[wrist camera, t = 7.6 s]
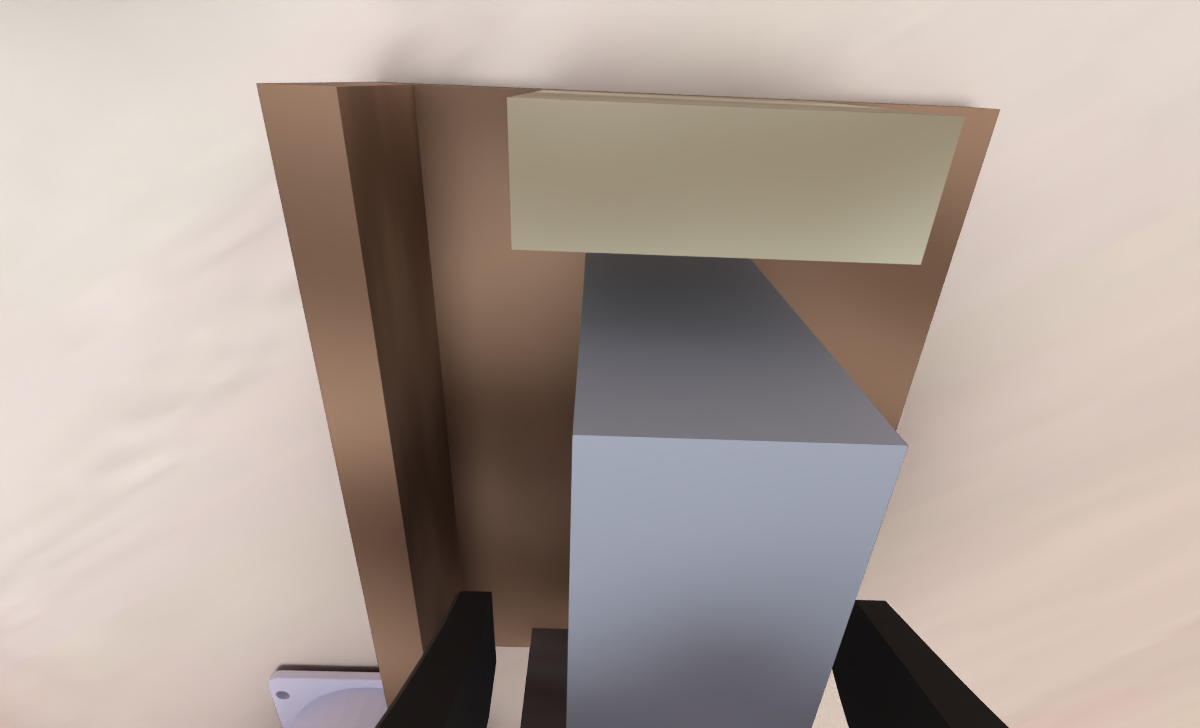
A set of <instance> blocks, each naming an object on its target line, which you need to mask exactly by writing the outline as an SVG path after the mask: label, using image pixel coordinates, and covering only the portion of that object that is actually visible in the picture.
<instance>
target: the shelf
mask: <svg viewBox="0 0 1200 728" xmlns="http://www.w3.org/2000/svg"><path fill="white" fill-rule="evenodd" d="M256 84H257V89H258V94H259V98H260V103H261V108H262V113H263V118H264V122H265V127H266V132H267V137H268V141H269V146H270V151H271V156H272V160H273V165H274V170H275V175H276V180H277V184H278V189H279V194H280V199H281V203H282V208H283V213H284V218H285V222H286V227H287V232H288V237H289V242H290V246H291V251H292V256H293V261H294V265H295V270H296V275H297V280H298V284H299V289H300V294H301V299H302V304H303V308H304V313H305V318H306V323H307V327H308V332H309V337H310V342H311V347H312V351H313V356H314V361H315V366H316V370H317V375H318V380H319V385H320V389H321V394H322V399H323V404H324V409H325V413H326V418H327V423H328V428H329V432H330V437H331V442H332V447H333V451H334V456H335V461H336V466H337V471H338V475H339V480H340V485H341V490H342V494H343V499H344V504H345V509H346V513H347V518H348V523H349V528H350V533H351V537H352V542H353V547H354V552H355V556H356V561H357V566H358V571H359V576H360V580H361V585H362V590H363V595H364V599H365V604H366V609H367V614H368V618H369V623H370V628H371V633H372V638H373V642H374V647H375V652H376V657H377V661H378V666H379V671H380V676H381V680H382V685H383V690H384V695H385V700H386V704H387V709H388V708H389V706H390V705H391V703H392V702H393V700H394V699H395V697H396V696H397V694H398V693H399V691H400V690H401V688H402V687H403V685H404V683H405V682H406V680H407V679H408V677H409V676H410V674H411V672H412V671H413V669H414V668H415V666H416V665H417V663H418V661H419V660H420V658H421V657H422V655H423V653H424V652H425V650H426V648H427V647H428V645H429V643H430V641H431V640H432V638H433V636H434V635H435V633H436V631H437V629H438V627H439V626H440V624H441V622H442V620H443V618H444V616H445V615H446V613H447V611H448V609H449V607H450V605H451V603H452V601H453V599H454V597H455V595H456V594H457V593H459V592H460V591H483V592H492V604H493V619H494V634H495V646H504V647H530V652H529V660H528V669H527V677H526V685H525V694H524V702H523V710H522V719H521V727H520V728H566V716H567V670H568V623H569V577H570V531H571V485H572V438H573V422H574V408H575V395H576V381H577V367H578V353H579V340H580V326H581V312H582V298H583V284H584V271H585V257H586V252H589V253H616V254H643V255H670V256H697V257H724V258H750V259H751V260H752V261H753V263H754V264H755V265H756V266H757V267H758V269H759V270H760V271H761V272H762V273H763V275H764V276H765V277H766V278H767V279H768V280H769V282H770V283H771V284H772V285H773V286H774V288H775V289H776V290H777V291H778V292H779V293H780V295H781V296H782V297H783V298H784V299H785V301H786V302H787V303H788V304H789V305H790V306H791V308H792V309H793V310H794V311H795V312H796V314H797V315H798V316H799V317H800V318H801V319H802V321H803V322H804V323H805V324H806V325H807V327H808V328H809V329H810V330H811V331H812V332H813V334H814V335H815V336H816V337H817V338H818V340H819V341H820V342H821V343H822V344H823V346H824V347H825V348H826V349H827V350H828V351H829V353H830V354H831V355H832V356H833V357H834V359H835V360H836V361H837V362H838V363H839V364H840V366H841V367H842V368H843V369H844V370H845V372H846V373H847V374H848V375H849V376H850V377H851V379H852V380H853V381H854V382H855V383H856V385H857V386H858V387H859V388H860V389H861V390H862V392H863V393H864V394H865V395H866V396H867V398H868V399H869V400H870V401H871V402H872V403H873V405H874V406H875V407H876V408H877V409H878V411H879V412H880V413H881V414H882V415H883V417H884V418H885V419H886V420H887V421H888V422H889V424H890V425H891V426H892V427H893V428H894V430H895V431H896V429H897V426H898V423H899V420H900V417H901V414H902V410H903V407H904V404H905V401H906V398H907V395H908V392H909V389H910V386H911V383H912V380H913V377H914V373H915V370H916V367H917V364H918V361H919V358H920V355H921V352H922V349H923V346H924V343H925V340H926V336H927V333H928V330H929V327H930V324H931V321H932V318H933V315H934V312H935V309H936V306H937V303H938V299H939V296H940V293H941V290H942V287H943V284H944V281H945V278H946V275H947V272H948V269H949V266H950V263H951V259H952V256H953V253H954V250H955V247H956V244H957V241H958V238H959V235H960V232H961V229H962V226H963V222H964V219H965V216H966V213H967V210H968V207H969V204H970V201H971V198H972V195H973V192H974V189H975V185H976V182H977V179H978V176H979V173H980V170H981V167H982V164H983V161H984V158H985V155H986V152H987V148H988V145H989V142H990V139H991V136H992V133H993V130H994V127H995V124H996V121H997V118H998V115H999V111H1000V109H988V108H975V107H956V106H932V105H909V104H885V103H862V102H838V101H815V100H791V99H768V98H744V97H721V96H697V95H673V94H650V93H626V92H603V91H579V90H556V89H532V88H509V87H485V86H462V85H438V84H414V83H391V82H327V83H256Z"/></svg>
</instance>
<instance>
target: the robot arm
mask: <svg viewBox="0 0 1200 728" xmlns="http://www.w3.org/2000/svg"><path fill="white" fill-rule="evenodd" d="M495 667H496V650H495V634H494V619H493V604H492V592H483V591H460V592H459V593H457V594H456V595H455V597H454V599H453V601H452V603H451V605H450V607H449V609H448V611H447V613H446V615H445V616H444V618H443V620H442V622H441V624H440V626H439V627H438V629H437V631H436V633H435V635H434V636H433V638H432V640H431V641H430V643H429V645H428V647H427V648H426V650H425V652H424V653H423V655H422V657H421V658H420V660H419V661H418V663H417V665H416V666H415V668H414V669H413V671H412V672H411V674H410V676H409V677H408V679H407V680H406V682H405V683H404V685H403V687H402V688H401V690H400V691H399V693H398V694H397V696H396V697H395V699H394V700H393V702H392V703H391V705H390V706H389V708H388V709H387V704H386V700H385V695H384V690H383V685H382V680H381V676H380V672H339V671H295V670H280V671H276V672H274V673H273V674H272V676H271V678H270V680H269V681H268V687H269V690H270V693H271V696H272V699H273V702H274V704H275V707H276V710H277V713H278V716H279V719H280V721H281V724H282V727H283V728H486V727H487V723H488V718H489V711H490V704H491V697H492V690H493V682H494V674H495ZM832 670H833V674H834V678H835V681H836V685H837V689H838V692H839V696H840V700H841V703H842V706H843V710H844V713H845V716H846V720H847V723H848V726H849V728H1009V727H1008V726H1006V725H1005V724H1004V723H1003V722H1002V721H1001V720H1000V719H999V718H998V717H997V716H996V715H995V714H994V713H993V712H992V711H991V710H990V709H989V708H988V707H987V706H986V705H985V704H984V703H983V702H982V701H981V700H980V699H979V698H978V697H977V696H976V695H975V694H974V693H973V692H972V691H971V690H970V689H969V688H968V687H967V686H966V685H965V684H964V683H963V682H962V681H961V680H960V679H959V678H958V677H957V676H956V675H955V674H954V672H953V671H952V670H951V669H950V668H949V667H948V666H947V665H946V664H945V663H944V662H943V661H942V660H941V659H940V658H939V657H938V656H937V655H936V654H935V653H934V652H933V651H932V650H931V649H930V647H929V646H928V645H927V644H926V643H925V642H924V641H923V640H922V639H921V638H920V637H919V636H918V635H917V634H916V633H915V632H914V631H913V629H912V628H911V627H910V626H909V625H908V624H907V623H906V622H905V621H904V620H903V619H902V618H901V617H900V616H899V615H898V614H897V613H896V612H895V611H894V610H893V608H892V607H891V606H890V605H889V604H888V603H887V602H886V601H874V600H855V602H854V605H853V608H852V611H851V614H850V617H849V620H848V623H847V626H846V629H845V632H844V634H843V637H842V640H841V643H840V646H839V649H838V652H837V655H836V658H835V661H834V664H833V667H832Z"/></svg>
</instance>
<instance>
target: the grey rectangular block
mask: <svg viewBox="0 0 1200 728" xmlns="http://www.w3.org/2000/svg"><path fill="white" fill-rule="evenodd" d="M907 448H908V445H907V444H906V443H905V441H904V440H903V439H902V438H901V437H900V435H899V434H898V433H897V432H896V431H895V430H894V428H893V427H892V426H891V425H890V424H889V422H888V421H887V420H886V419H885V418H884V417H883V415H882V414H881V413H880V412H879V411H878V409H877V408H876V407H875V406H874V405H873V403H872V402H871V401H870V400H869V399H868V398H867V396H866V395H865V394H864V393H863V392H862V390H861V389H860V388H859V387H858V386H857V385H856V383H855V382H854V381H853V380H852V379H851V377H850V376H849V375H848V374H847V373H846V372H845V370H844V369H843V368H842V367H841V366H840V364H839V363H838V362H837V361H836V360H835V359H834V357H833V356H832V355H831V354H830V353H829V351H828V350H827V349H826V348H825V347H824V346H823V344H822V343H821V342H820V341H819V340H818V338H817V337H816V336H815V335H814V334H813V332H812V331H811V330H810V329H809V328H808V327H807V325H806V324H805V323H804V322H803V321H802V319H801V318H800V317H799V316H798V315H797V314H796V312H795V311H794V310H793V309H792V308H791V306H790V305H789V304H788V303H787V302H786V301H785V299H784V298H783V297H782V296H781V295H780V293H779V292H778V291H777V290H776V289H775V288H774V286H773V285H772V284H771V283H770V282H769V280H768V279H767V278H766V277H765V276H764V275H763V273H762V272H761V271H760V270H759V269H758V267H757V266H756V265H755V264H754V263H753V261H752V260H751V259H750V258H724V257H697V256H670V255H643V254H616V253H589V252H586V257H585V271H584V284H583V298H582V312H581V326H580V340H579V353H578V367H577V381H576V395H575V408H574V422H573V438H572V485H571V531H570V577H569V623H568V670H567V716H566V728H812V725H813V722H814V719H815V716H816V713H817V710H818V707H819V704H820V702H821V699H822V696H823V693H824V690H825V687H826V684H827V681H828V678H829V675H830V672H831V669H832V667H833V664H834V661H835V658H836V655H837V652H838V649H839V646H840V643H841V640H842V637H843V634H844V632H845V629H846V626H847V623H848V620H849V617H850V614H851V611H852V608H853V605H854V602H855V599H856V596H857V594H858V591H859V588H860V585H861V582H862V579H863V576H864V573H865V570H866V567H867V564H868V561H869V559H870V556H871V553H872V550H873V547H874V544H875V541H876V538H877V535H878V532H879V529H880V526H881V524H882V521H883V518H884V515H885V512H886V509H887V506H888V503H889V500H890V497H891V494H892V491H893V488H894V486H895V483H896V480H897V477H898V474H899V471H900V468H901V465H902V462H903V459H904V456H905V453H906V451H907Z"/></svg>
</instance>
